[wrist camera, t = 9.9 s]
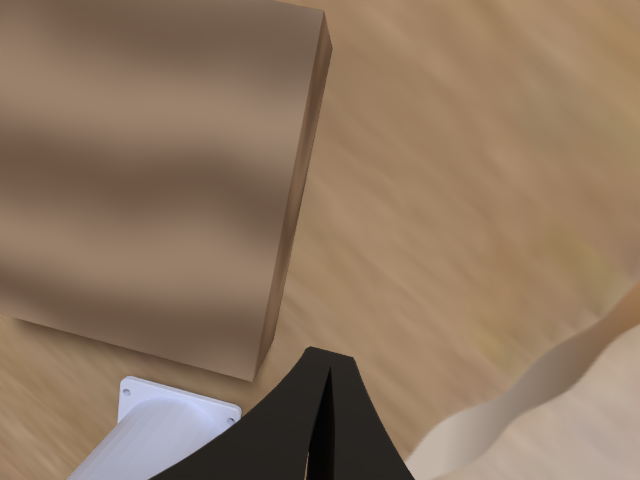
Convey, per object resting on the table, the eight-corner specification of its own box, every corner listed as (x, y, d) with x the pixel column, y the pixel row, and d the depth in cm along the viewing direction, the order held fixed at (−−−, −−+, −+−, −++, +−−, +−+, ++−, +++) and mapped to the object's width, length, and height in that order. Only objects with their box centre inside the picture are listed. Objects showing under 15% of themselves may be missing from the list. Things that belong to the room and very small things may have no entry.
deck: (273, 339, 20) (252, 381, 16) (28, 275, 21) (-49, 300, 17) (332, 48, 16) (323, 10, 12) (27, -14, 17) (-72, -67, 13)
